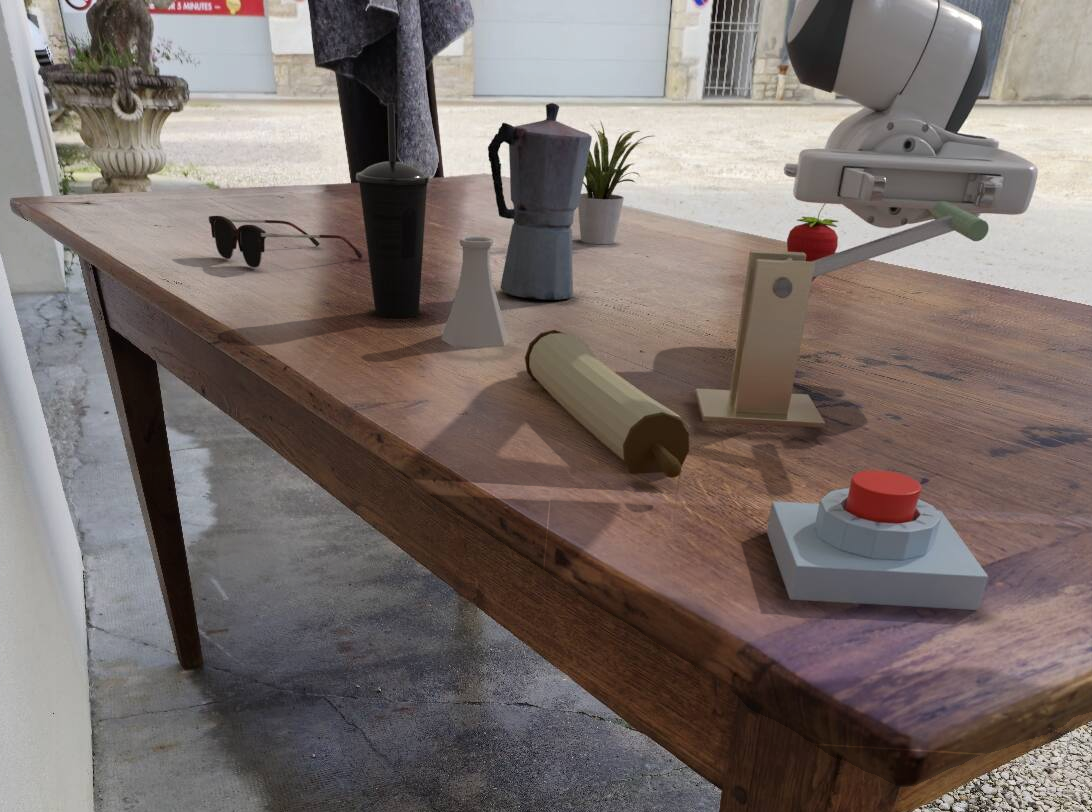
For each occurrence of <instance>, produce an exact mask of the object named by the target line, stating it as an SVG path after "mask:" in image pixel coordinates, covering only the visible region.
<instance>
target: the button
mask: <svg viewBox="0 0 1092 812" xmlns="http://www.w3.org/2000/svg"><path fill="white" fill-rule="evenodd" d="M849 488H850V489H849V493H848V498H847V502H846V507H845V511H847V512H849V513H851V514H853V515H855V516H856V517H858V518H861V519H865V520H869V521H873V522H878V523H896V524H901V523H906V522H911V521H912V520H913V517H914V513H915V510H916V506H917V502H918V499H919V498H920V493H921V491H922V486H921V484H920V483H919V481H917V480H916V479H914V478H912V477H910V476H907V475H906V474H905V475H904V474H901V473H897V472H893V471H888V470H887V471H886V470H863V471H860V472H856V473H855V474H853V476H852V477H851V480H850V484H849Z"/></svg>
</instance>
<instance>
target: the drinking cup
mask: <svg viewBox="0 0 1092 812" xmlns="http://www.w3.org/2000/svg"><path fill="white" fill-rule="evenodd" d="M386 105H387V130H388V131H387V132H388V133H387V134H388V161H382V162H378V163H377V162H376V163H374V164H372V165H369V166H368V167H366V168H364V169H363V170H362V171H359V172H356V175H355V179H356V180H357V181H358V185H359V192H360V200H361V207H362V217H363V223H364V230H365V232H364V233H365V240H366V248H367V256H368V257H367V258H368V264H369V272H370V279H371V287H372V296H373V302H374V305H373V306H374V312H375V314H376V315H377V316H380V317H384V318H389V319H390V318H391V319H407V318H413V317H416V316H418V315H419V313H420V299H421V285H422V268H423V254H424V237H425V222H426V206H427V193H428V192H427V190H428V184H429V183H430V179H431V178H430V177H431V176H430V175H428V174H426V173H424V172H422V170H420V169H419V168H417V167H416V166H413V165H411V164H408V163H405V162H401V161H397V156H396V151H397V149H396V125H395V124H396V120H395V119H396V118H395V116H396V115H395V103H392V102H387V104H386Z"/></svg>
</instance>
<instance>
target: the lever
mask: <svg viewBox="0 0 1092 812" xmlns="http://www.w3.org/2000/svg"><path fill="white" fill-rule="evenodd" d="M932 215H933V218H934V219H933V220H929V221H926V222H925V223H921V224H919V225H916V226H913V227H910V228H907V229H904V230H901V231H898V232H895V233H892V234H889V235H886V236H883V237H880V238H877V239H874V240H870V241H868V242H866V243H862V244H860V245H856V246H854V247H850V248H847V249H844V250H841V251H838V252H835V253H834V254H832V255H830V256H827V257H824V258H821V259H818V260H815V261H812V262H813V263H814V264H815V267H814V273H813V278H814V277H816V278H818V277H820V276H823V275H826V274H828V273H831V272H835V271H838V270H841V269H844V268H846V267H849V266H852V265H856V264H859V263H862V262H865V261H868V260H870V259H873V258H876V257H879V256H883V255H885V254H889V253H891V252H894V251H898V250H900V249H903V248H906V247H909V246H913V245H916V244H918V243H920V242H925V241H927V240H930V239H933V238H937V237H939V236H942V235H945V234H947V233H951V232H956V233H958V234H960V235H962V236H963V237H965V238H967V239H969V240H970V241H973V242H980V241H982V240H984V239H985V238H986V236H987V235H988V233H989V230H990V229H989V227H990V226H989V223H988V222H987V221H986V220H984V219H983V218H981V217H976V216H974V215H972V214H970V213H968V212H966V211H964V210H962V209H960V208H958V207H956V206H954V205H952V204H950V203H948V202H946V201H941V202H939V203H937V204H936V205H935V206H934V208H933V211H932ZM784 260H787V261H793V260H792V259H791V258H787V259H784Z"/></svg>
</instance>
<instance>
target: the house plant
mask: <svg viewBox="0 0 1092 812" xmlns="http://www.w3.org/2000/svg"><path fill="white" fill-rule="evenodd" d="M588 122H589V124H590V125H591V127H592V128H593V129H594V131H595V133H596V135H597V137H598V140H596V141H595V143H594V147H593V154H592V152H591V149H590V150H589V155H588V160H587V165H586V170H585V175H584V178H585V179H586V182H585V181H583V185H584V187H585V190H586V192H585V193H581V195H580V200H579V205H578V207H577V209H578V210H577V211H578V221H579V235H580V241H581V242H582V243H584V244H591V245H611V244H612V245H613V244H615V239H616V236H617V232H618V227H619V221H620V218H621V213H622V209H623V204H624V198H625V197H624V196H622V195H619V194H614V193H613V192H614V190H615V188H616V187H617V185H618V184H620V183H622V182H632V183H635V184H637V182H636V181H635V180H634V179H632V178H631V179H630V178H626V179H623V178H624V177H625V176H627V175H630V174H636V175H638V176H639V178H640V179H642V178H641V176H640V174H639V173H638V172H635V171H633V172H628V173H625V172H626V171H627V170H628V169H629V168H630V166H633V165H636V164H637V163H628V164H626V165H624V163H625V162H626V160H627V158H628V157H629V155H630V153H632V151H633V150H634V149H635V148H636V147H637V146H638V145H639V144H644V141H643V142H642V140H644V139H647V138H651V137H652V138H653V137H654V135H647V136H644V137H642V138H640V139H638V140H637V141H636V142H635V143H633V144H632V141H630V142H628V141H629V140H630V139H632V137H633V136H634V134H636V133H640V130H634V131H631V130H628V131H625V132H623V133H622V134H621V135H620V136H619V137H618V139H617V141H616V143H615V146H614V149H613V153H612V155H611V158H610V160H609V151H610V150H609V141H608V138H607V136H606V135H605V128H604V125H603V123H602V121H601V120H599V122H600V125H601V128H602V131H600V130H597V129H596V128H595V127H594V125H592V123H591V122H590V121H588ZM626 133H627V134H626ZM623 135H625V136H623ZM640 141H641V142H640ZM627 142H628V143H627ZM630 145H631V146H630ZM599 146H600V148H599ZM629 146H630V147H629ZM628 147H629V148H628ZM627 148H628V149H627ZM593 156H594V157H593ZM622 156H623V157H622ZM600 157H601V158H600ZM621 157H622V159H621ZM620 159H621V160H620ZM619 160H620V162H619ZM618 162H619V164H618ZM617 164H618V166H617ZM623 165H624V166H623Z"/></svg>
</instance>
